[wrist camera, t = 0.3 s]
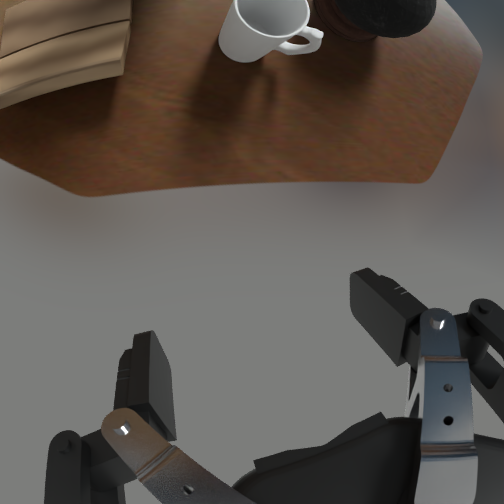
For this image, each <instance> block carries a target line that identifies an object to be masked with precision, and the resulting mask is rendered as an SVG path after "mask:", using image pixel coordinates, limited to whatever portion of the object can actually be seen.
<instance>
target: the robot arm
mask: <svg viewBox="0 0 504 504" xmlns="http://www.w3.org/2000/svg"><path fill="white" fill-rule="evenodd" d="M350 307H351V311H352V313H353V315H354V317H355V318H356V319H357V321H358V322H359V323H360V324H361V325H362V326H363V327H364V329H365V330H366V331H367V332H368V333H369V334H370V335H371V337H373V339H374V340H375V341H376V342H377V343H378V345H379V346H380V347H381V348H382V349H383V350H384V351H385V353H386V354H387V355H388V356H389V357H390V358H391V360H392V361H393V362H394V363H395V364H396V366H397V367H398V366H400V365H402V364H404V363H405V362H408V363H409V364H410V367H409V373H408V389H407V400H406V408H405V413H404V417H394V418H388V419H386V418H385V417H384V415H383V414H382V413H381V412H380V413H377V414H375V415H373V416H371V417H369V418H367V419H365V420H363V421H361V422H358V423H356V424H354V425H352V426H351V427H349V428H348V429H347V430H345V431H344V432H343V433H341V434H340V435H338V436H337V437H336V438H334V439H333V440H331V441H330V442H328V443H327V444H325V445H323V446H318V447H311V448H304V449H296V450H287V451H284V452H281V453H277V454H274V455H271V456H268V457H264V458H260V459H257V460H254V464H255V467H256V468H255V469H254V470H252V471H250V472H248V473H247V474H245V475H244V476H243V477H241V478H240V479H239V480H238V481H237V482H236V483H235V484H234V485H233V486H232V487H230V486H229V485H227V484H226V483H224V482H223V481H221V480H220V479H218V478H217V477H216V476H214V475H213V474H211V473H210V472H209V471H207V470H206V469H205V468H203V467H202V466H201V465H199V464H198V463H197V462H195V461H194V460H193V459H192V458H190V457H189V456H188V455H187V454H185V453H184V452H183V451H182V450H180V449H179V448H178V447H176V446H175V445H174V446H172V445H171V444H170V443H169V441H175V440H177V439H176V429H175V419H174V406H173V393H172V377H171V369H170V365H169V362H168V359H167V357H166V355H165V353H164V351H163V349H162V347H161V345H160V343H159V341H158V338H157V336H156V334H155V332H154V331H147V332H143V333H139V334H135V335H134V339H133V347H132V349H128V350H125V352H124V354H123V355H122V357H121V358H120V361H119V367H118V371H119V372H118V375H117V382H116V391H115V400H114V410H113V411H112V412H111V413H109V414H108V415H107V416H106V417H105V418H104V420H103V422H102V425H101V429H100V430H97V431H95V432H93V433H90V434H88V435H86V436H83V437H80V436H79V435H78V434H77V433H76V432H74V431H70V430H66V431H62V432H60V433H58V434H57V435H56V436H55V437H54V438H53V439H52V441H51V443H50V446H49V451H48V460H47V470H46V481H45V497H44V498H45V499H44V504H126V503H125V492H124V484H125V483H128V482H130V481H133V480H135V479H138V480H139V481H140V482H141V483H142V484H143V485H144V486H145V487H146V488H147V489H148V490H149V491H150V492H151V493H152V494H153V495H154V496H155V497H156V498H157V499H158V500H159V501H160V502H161V503H162V504H504V440H502V439H496V438H492V437H487V436H482V435H478V434H474V433H473V406H472V392H471V383H472V385H473V386H474V387H475V389H476V390H477V391H478V392H479V393H480V394H481V395H482V397H483V398H484V399H485V400H486V402H487V403H488V404H489V405H490V406H491V408H492V409H493V410H494V411H495V413H496V414H497V415H498V416H499V418H500V419H501V420H502V422H503V423H504V368H503V367H502V366H501V365H500V364H499V363H498V362H497V361H496V360H495V359H494V358H493V357H492V356H491V355H490V354H489V353H488V352H487V349H488V347H489V345H491V346H492V347H493V348H494V349H495V350H496V351H497V352H498V353H499V354H500V355H501V356H502V358H503V360H504V310H503V309H502V308H501V307H500V306H498V305H497V304H496V303H494V302H493V301H491V300H488V299H476V300H474V301H472V303H471V304H470V308H469V311H468V312H467V313H462V314H458V315H452V314H451V313H450V312H449V311H447V310H444V309H441V308H431V309H428V308H427V307H426V306H425V305H424V304H422V303H421V302H420V301H419V300H418V299H416V298H415V297H414V296H413V295H411V294H410V293H409V292H407V290H405V289H404V288H403V287H401V286H400V285H399V284H398V283H397V282H395V281H394V280H393V279H391V278H388V277H385V276H383V275H381V276H378V275H377V274H376V273H375V272H374V271H372V270H371V269H370V268H365V269H362V270H359V271H356V272H353V273H352V274H351V275H350Z"/></svg>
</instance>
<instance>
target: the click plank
mask: <svg viewBox="0 0 504 504" xmlns="http://www.w3.org/2000/svg"><path fill="white" fill-rule="evenodd" d="M130 34H131V28H130V21H124V22H119V23H113V24H108V25H104V26H99V27H95V28H91V29H87V30H83V31H79V32H75V33H72V34H68V35H65V36H61V37H58V38H55V39H52V40H49V41H46V42H43V43H40V44H37V45H34V46H32V47H29V48H26V49H24V50H21V51H19V52H16V53H14V54H12V55H9V56H7V57H5V58H2V59H0V109H2V108H5V107H7V106H10V105H13V104H15V103H18V102H21V101H24V100H27V99H30V98H33V97H36V96H39V95H42V94H45V93H48V92H52V91H55V90H59V89H62V88H66V87H70V86H73V85H77V84H81V83H86V82H90V81H94V80H99V79H104V78H109V77H114V76H119V75H123V71H124V65H125V60H126V54H127V49H128V44H129V39H130Z"/></svg>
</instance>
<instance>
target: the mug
mask: <svg viewBox="0 0 504 504" xmlns="http://www.w3.org/2000/svg"><path fill="white" fill-rule="evenodd" d="M309 17H310V10H309V5H308V3H307V0H233V2H232V5H231V7H230V9H229V12H228V14H227V16H226V19H225V21H224V23H223V26H222V28H221V31H220V34H219V46H220V48H221V50H222V51H223V53H224V54H225V55H226V56H227V57H229V58H230V59H232V60H234V61H237V62H244V63H246V62H253V61H256V60H258V59H260V58H261V57H263V56H264V55H266V54H267V53H269V52H270V51H272V50H278V51H280V52H282V53H285V54H287V55H296V54H306V53H311V52H314V51H316V50H318V49H319V47H320V45H321V40H322V37H323V35H324V34H323V32H322V31H319V30H317V29H315V28H310V27H308V26H306V25H307V23H308V21H309ZM294 35H300V36H303V37H305V38H306V39H308V40H309V41H310V43H309V44H306V45H296V44H291V43H288V42H286V41H287V40H288V39H290V38H291V37H293V36H294Z"/></svg>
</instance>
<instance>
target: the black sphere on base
mask: <svg viewBox="0 0 504 504" xmlns="http://www.w3.org/2000/svg"><path fill="white" fill-rule="evenodd" d="M314 3H315V7H316V10H317V12H318V14H319V16H320V18H321V19H322V20H323V22H324V23H325V24H326V25H327V26H328V27H329V28H330V29H331V30H332V31H333V32H335V33H336V34H338V35H339V36H341V37H343V38H345V39H347V40H351V41H355V42H364V41H369V40H371V39H373V38H375V37H377V36H381V37H389V38H399V37H408V36H410V35H413V34H415V33H417V32H420V31H421V30H422V29H423V28H425V27H426V26H427V25H428V24H429V22H430V21H431V19H432V17H433V16H434V13H435V9H436V0H314Z"/></svg>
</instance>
